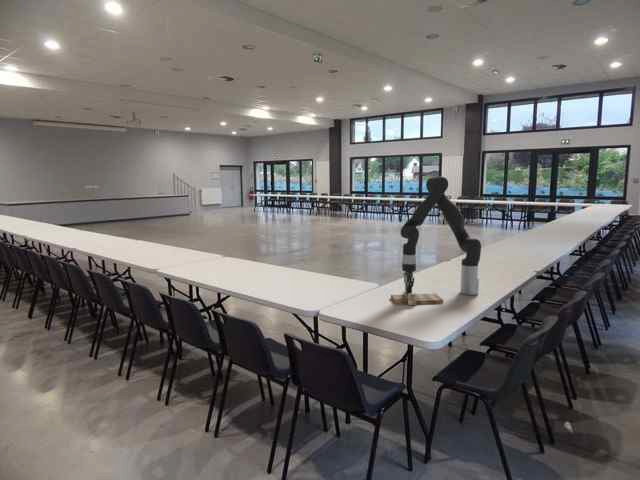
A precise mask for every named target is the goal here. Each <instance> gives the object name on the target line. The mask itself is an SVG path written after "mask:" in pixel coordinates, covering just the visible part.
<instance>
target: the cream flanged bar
mask: <svg viewBox="0 0 640 480" xmlns="http://www.w3.org/2000/svg"><path fill="white" fill-rule="evenodd" d="M410 285H411V284H410ZM402 295H404V296H405V297H406V298H407V299H408V304H407V305H408V306H417V304H416V295H417V293H413V292H412V293H407V283H404V290H402Z"/></svg>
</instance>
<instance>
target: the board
mask: <svg viewBox="0 0 640 480" xmlns="http://www.w3.org/2000/svg"><path fill="white" fill-rule="evenodd" d="M416 294H417V293H416ZM390 299H391V300H392V302H393V303H394V305H396V306H399V305H405V306H406V305H408V299H407V298H406V297H405V296H404V295H403V294H391V295H390ZM428 304H429V305H430V304H431V305H433V304H444V299H443V298H442V297H441V296H439V295H438V294H437V293H418V294H417V295H416V305H428Z"/></svg>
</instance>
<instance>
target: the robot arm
mask: <svg viewBox="0 0 640 480" xmlns="http://www.w3.org/2000/svg"><path fill="white" fill-rule="evenodd" d="M425 186H426V189H427V190H426V191H427V192H428V194H429V195H427V197H426V198H425V199H424V200H423V201H421V203H420V204H419V205H418V206H417V207H416V209H415V210H414V212H413V214H412V216H411V217H410V218H409V219H408V220H406V222H405V223H404V225H402V227H401V229H400V236H401V238H403V239H405V240H407V242H405V243H403V245H402V258H401V259H402V260H401V271H403V283H404V284H405V283H407V293H413V287H414V283H415V277H414V272H416V270H417V245H418V241H419V238H420V232H419V231H420V230H419V229H418V228H417V227H420V226H422V225H423V223H424V222H425V220H426V219H427V217H428V215H429V214H430V212H431V211H432V210H433V207H434V206H435V204H436V205H437V206H438V209H439V210H440V211H441V213H442V215H443V217H444V219H445V221H446V223H447V224H448V226H449V228H450V229H451V232H452V233H453V235H454V237H455V239H456V242H457V244H458V247H459V249H460V250H461V251H462V252H463V253H466V254H465V258H463V259H461V269H460V294H462V295H467V296H474V295H475V296H476V295H479V289H480V288H479V286H480V284H479V283H480V278H479V263H480V260H481V252H482V244H481V241H480V240H479V239H478V238H475V237H471V236H470V235H469V234H468V232H467V230H466V228H465V218H464V216H463V214H462V212H461V210H460V208H459V206H458V205H457V204H455V202H453V201H452V200H451V199H450V198H448V196H447V195H446V194H445V192H446V191H447V190H448V187H449V181H448V179H447V178H446V177H445V176H433V177H429V178H428V179H427V180H426V183H425ZM410 284H411V285H410Z"/></svg>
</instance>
